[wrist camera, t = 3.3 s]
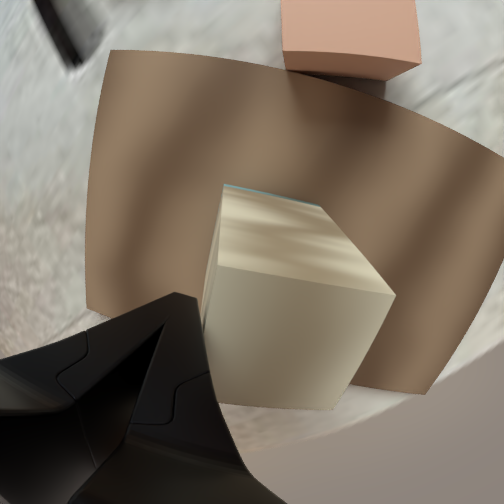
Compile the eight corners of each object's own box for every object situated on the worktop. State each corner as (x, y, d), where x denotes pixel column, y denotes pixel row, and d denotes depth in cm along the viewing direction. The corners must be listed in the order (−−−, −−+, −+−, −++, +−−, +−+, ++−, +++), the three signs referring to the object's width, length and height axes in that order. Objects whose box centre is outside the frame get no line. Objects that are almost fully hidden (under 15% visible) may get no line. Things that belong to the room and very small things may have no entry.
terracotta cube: (379, -3, 11) (406, -44, 7) (385, 81, 13) (421, 63, 9) (283, -10, 12) (277, -57, 7) (286, 74, 14) (282, 50, 9)
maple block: (318, 204, 15) (396, 295, 7) (292, 287, 16) (332, 410, 9) (223, 183, 14) (217, 264, 7) (205, 272, 16) (191, 399, 9)
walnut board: (520, 172, 13) (532, 176, 12) (420, 383, 19) (424, 394, 18) (121, 53, 14) (110, 50, 13) (95, 299, 20) (86, 308, 19)
